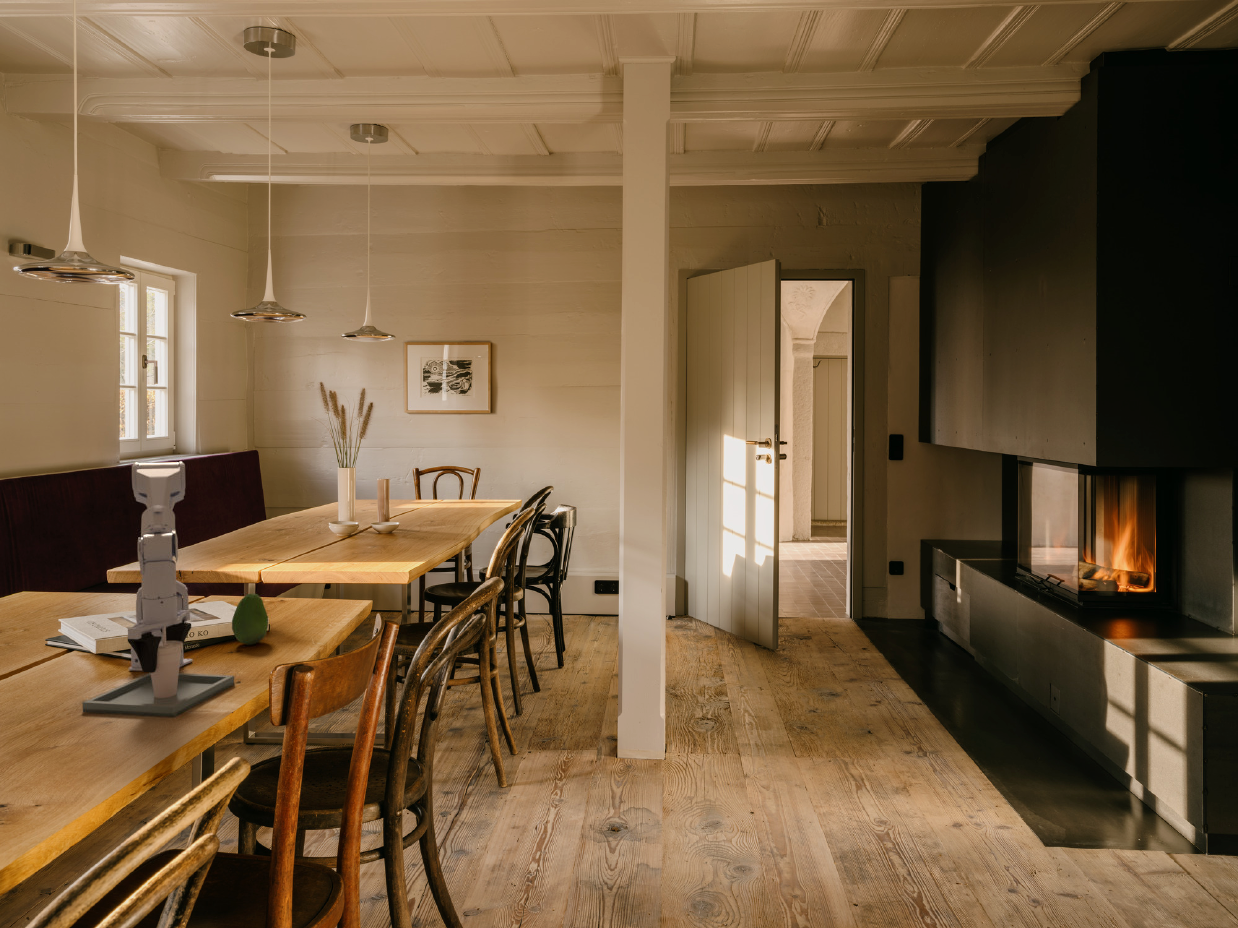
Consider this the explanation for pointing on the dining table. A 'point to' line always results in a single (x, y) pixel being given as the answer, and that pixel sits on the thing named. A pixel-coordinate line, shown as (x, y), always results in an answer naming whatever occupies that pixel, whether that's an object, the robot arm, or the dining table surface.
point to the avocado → (250, 620)
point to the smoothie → (167, 667)
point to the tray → (142, 701)
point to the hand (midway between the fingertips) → (161, 666)
